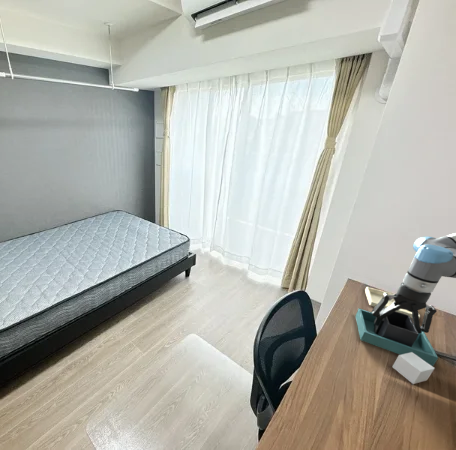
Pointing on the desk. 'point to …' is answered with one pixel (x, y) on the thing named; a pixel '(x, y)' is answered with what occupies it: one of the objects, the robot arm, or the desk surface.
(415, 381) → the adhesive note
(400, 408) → the desk surface
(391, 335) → the small bin
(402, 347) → the tray
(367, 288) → the tray
